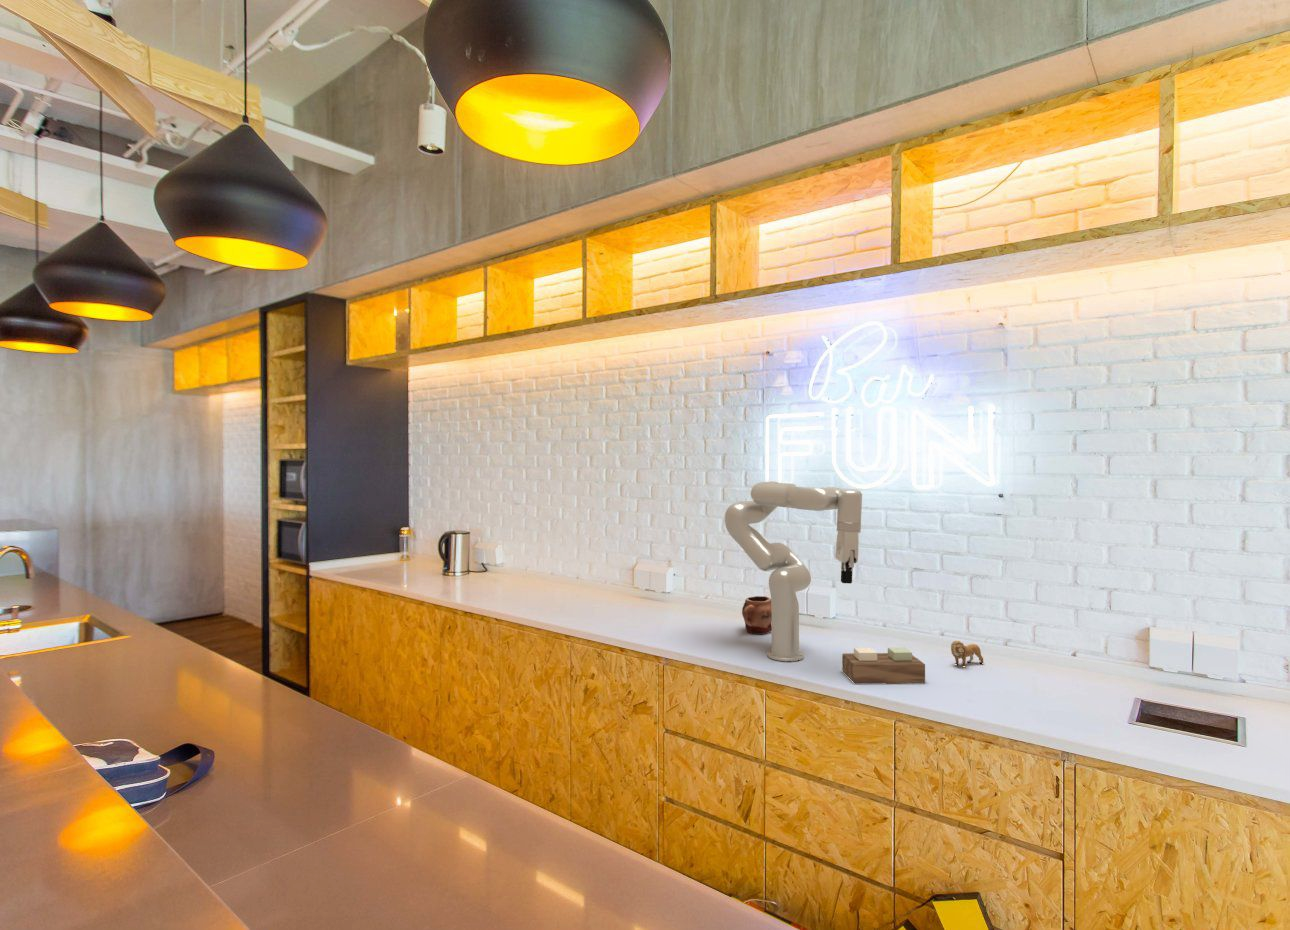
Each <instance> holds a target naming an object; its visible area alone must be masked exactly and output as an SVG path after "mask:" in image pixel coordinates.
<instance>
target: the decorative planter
mask: <svg viewBox="0 0 1290 930" xmlns="http://www.w3.org/2000/svg"><path fill="white" fill-rule="evenodd" d="M741 615H742V617H743V620H744V621H743V622H744V625H745V630H746V632H747V633H749V632H750V633H749V634H753V633H755V635H764V634H765V633H766V634H770V633H772V613H771V597H769V596H759V595H758V596H757V595H755V596H750V597H749V596H748V597H746V599H745V601H744V604H743V606H742V609H741ZM766 634H765V635H766Z"/></svg>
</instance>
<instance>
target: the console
mask: <svg viewBox="0 0 1290 930" xmlns="http://www.w3.org/2000/svg"><path fill="white" fill-rule="evenodd" d="M841 656H842V671H843V672H844V673H845V674H846V675H847V676H848V677H849V678H850V679H851V680H852V681H853V682H854V683H886V684H885V685H893V684H895V685H902V684H901V683H925V684H926V663H924V662H922V661H921V660H920V659H919V658H917V657H916V656H914V655H913V654H912V660H908V661H894V660H893V659H892V658H891V657H889V656H888V652H886V653H885V652H882V653H881V652H877V661H859V660H858V659H857V658H856V657H855V656H854V652H852V653H851V652H850V653H847V652H846V653H842V655H841ZM843 672H842V673H843ZM844 673H843V674H844ZM845 674H844V675H845ZM846 675H845V676H846ZM847 676H846V677H847ZM848 677H847V678H848ZM849 678H848V679H849ZM850 679H849V680H850ZM851 680H850V681H851ZM852 681H851V682H852ZM853 682H852V683H853ZM854 683H853V684H854Z"/></svg>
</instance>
